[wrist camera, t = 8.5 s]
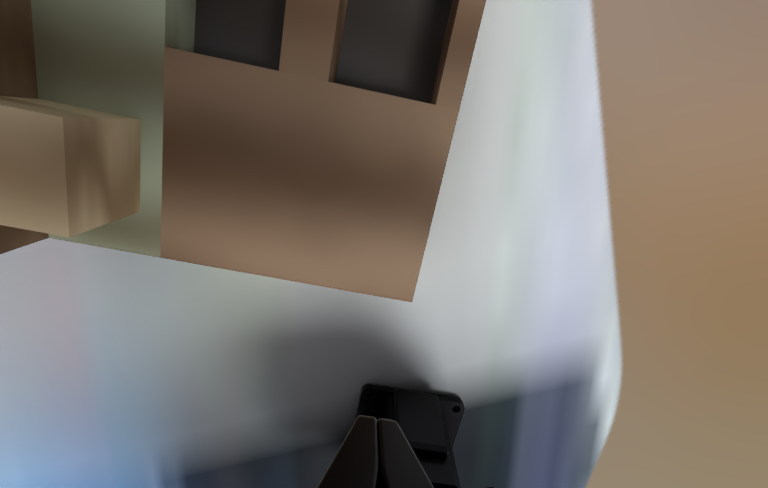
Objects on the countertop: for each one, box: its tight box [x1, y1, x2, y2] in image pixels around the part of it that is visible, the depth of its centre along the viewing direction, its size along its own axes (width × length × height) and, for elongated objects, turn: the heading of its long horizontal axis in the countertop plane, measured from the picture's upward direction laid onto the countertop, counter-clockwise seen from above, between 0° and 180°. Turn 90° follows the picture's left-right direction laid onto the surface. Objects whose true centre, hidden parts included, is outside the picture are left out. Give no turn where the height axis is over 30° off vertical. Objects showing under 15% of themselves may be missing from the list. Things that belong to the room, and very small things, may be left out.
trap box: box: [0, 0, 486, 302], centre depth 15 cm, size 15×18×6 cm
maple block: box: [0, 96, 141, 237], centre depth 14 cm, size 4×4×4 cm
